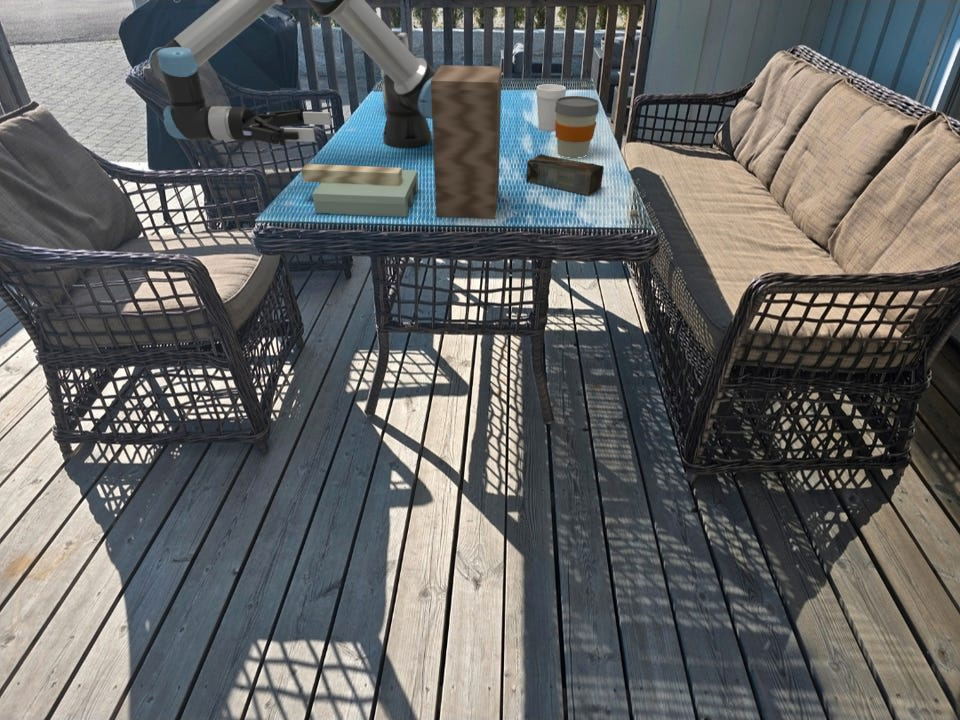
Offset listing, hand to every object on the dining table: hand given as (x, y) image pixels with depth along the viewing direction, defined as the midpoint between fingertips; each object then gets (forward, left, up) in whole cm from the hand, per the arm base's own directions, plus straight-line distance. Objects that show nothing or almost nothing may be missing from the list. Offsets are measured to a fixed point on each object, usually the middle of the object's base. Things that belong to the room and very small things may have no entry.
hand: (322, 126), depth 139 cm
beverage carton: (-39, +46, -18) cm, 63 cm away
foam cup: (-84, +21, -18) cm, 89 cm away
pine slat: (-3, +5, -13) cm, 14 cm away
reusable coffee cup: (-64, +38, -18) cm, 77 cm away
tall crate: (-15, +31, -18) cm, 39 cm away
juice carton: (-72, -32, -18) cm, 81 cm away
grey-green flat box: (-4, +8, -18) cm, 20 cm away
